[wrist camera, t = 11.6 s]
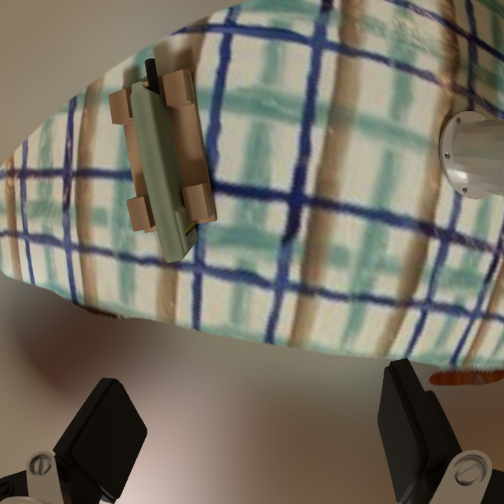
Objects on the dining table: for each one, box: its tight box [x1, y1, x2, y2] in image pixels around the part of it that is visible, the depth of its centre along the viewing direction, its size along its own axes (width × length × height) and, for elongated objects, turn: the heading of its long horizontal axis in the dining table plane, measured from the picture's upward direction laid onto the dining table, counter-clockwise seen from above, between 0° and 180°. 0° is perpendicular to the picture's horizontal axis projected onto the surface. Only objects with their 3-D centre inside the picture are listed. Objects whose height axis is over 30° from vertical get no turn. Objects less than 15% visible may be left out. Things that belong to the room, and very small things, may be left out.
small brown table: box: [109, 69, 217, 233], centre depth 34 cm, size 10×20×4 cm, turn 10°
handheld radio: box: [130, 58, 198, 263], centre depth 32 cm, size 7×3×25 cm
